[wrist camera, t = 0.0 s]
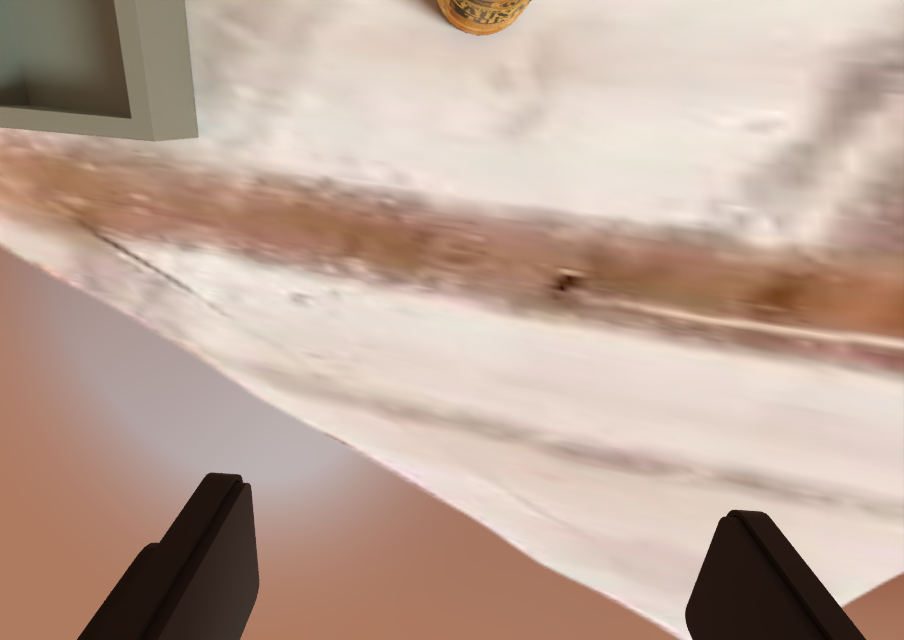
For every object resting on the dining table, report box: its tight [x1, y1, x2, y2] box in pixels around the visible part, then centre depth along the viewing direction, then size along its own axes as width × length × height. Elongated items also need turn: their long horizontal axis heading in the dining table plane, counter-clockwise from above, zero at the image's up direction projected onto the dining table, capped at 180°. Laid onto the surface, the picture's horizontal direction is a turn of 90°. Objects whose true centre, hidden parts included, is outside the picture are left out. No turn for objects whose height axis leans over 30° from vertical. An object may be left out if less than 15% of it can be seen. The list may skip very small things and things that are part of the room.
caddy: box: [0, 0, 198, 141], centre depth 31 cm, size 12×12×6 cm
